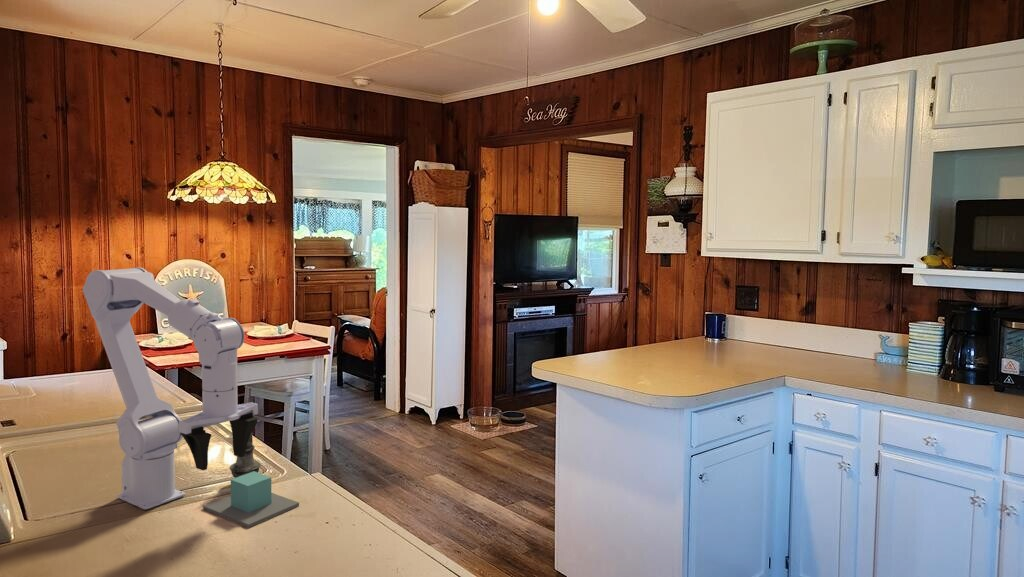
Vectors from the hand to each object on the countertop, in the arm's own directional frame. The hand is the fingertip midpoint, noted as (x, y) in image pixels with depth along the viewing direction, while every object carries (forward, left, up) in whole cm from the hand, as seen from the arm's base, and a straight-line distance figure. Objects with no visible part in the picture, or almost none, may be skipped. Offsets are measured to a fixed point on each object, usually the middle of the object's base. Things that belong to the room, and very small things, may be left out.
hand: (220, 462), depth 120 cm
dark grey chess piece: (-9, +12, -10) cm, 18 cm away
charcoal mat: (+2, +5, -10) cm, 11 cm away
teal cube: (+2, +5, -9) cm, 11 cm away
